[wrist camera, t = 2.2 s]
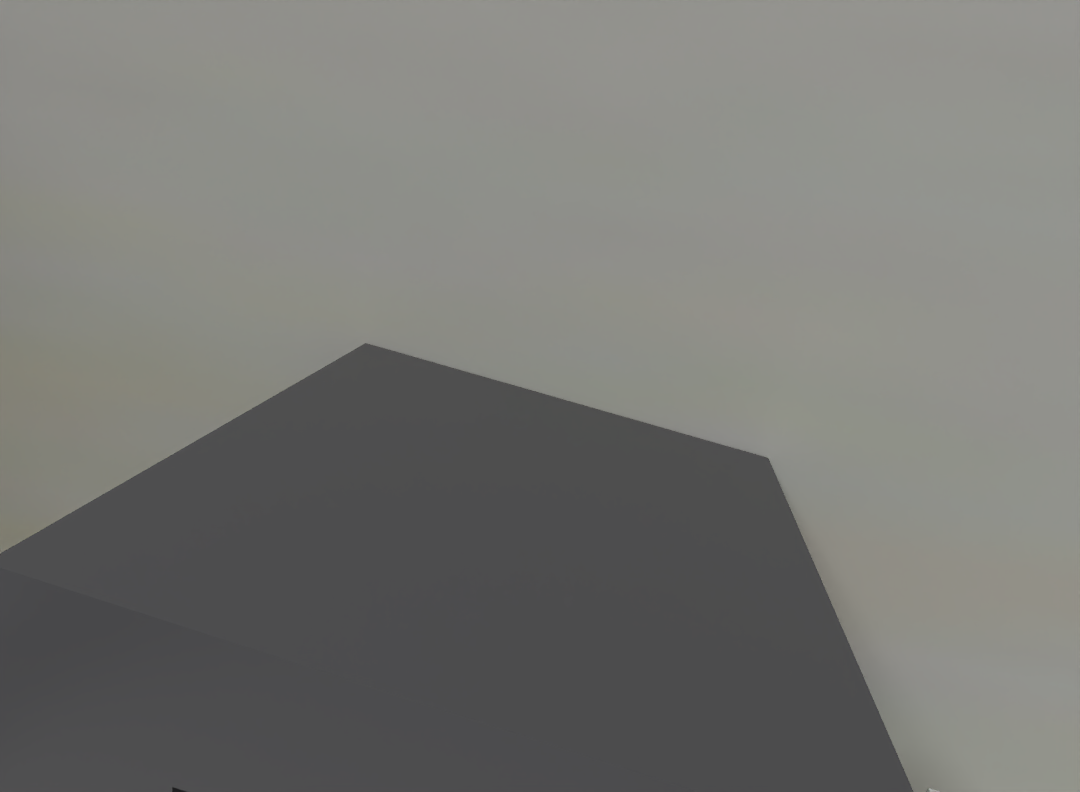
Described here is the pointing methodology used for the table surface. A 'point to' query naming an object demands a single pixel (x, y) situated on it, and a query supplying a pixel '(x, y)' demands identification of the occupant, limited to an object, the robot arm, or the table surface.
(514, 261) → the table surface
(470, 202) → the table surface
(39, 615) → the hollow dark grey cube
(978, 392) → the table surface
